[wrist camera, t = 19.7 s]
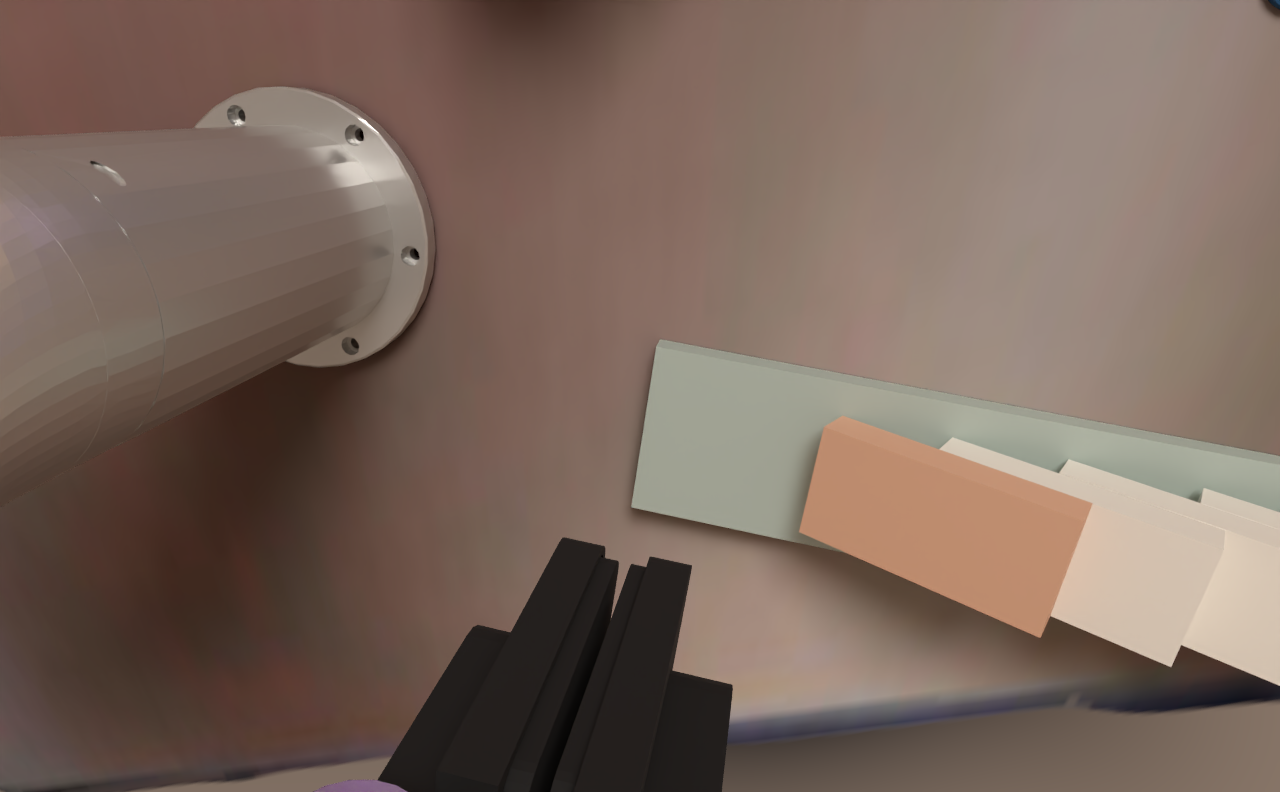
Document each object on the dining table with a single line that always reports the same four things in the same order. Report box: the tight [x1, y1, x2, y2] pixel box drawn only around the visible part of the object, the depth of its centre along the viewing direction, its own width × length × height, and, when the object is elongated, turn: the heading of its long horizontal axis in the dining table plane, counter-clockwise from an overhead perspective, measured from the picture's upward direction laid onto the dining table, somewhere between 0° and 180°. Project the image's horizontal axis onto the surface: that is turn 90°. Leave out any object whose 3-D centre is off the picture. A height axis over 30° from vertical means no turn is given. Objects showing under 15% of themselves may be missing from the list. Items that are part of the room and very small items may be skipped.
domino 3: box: [1059, 459, 1280, 686], centre depth 32 cm, size 2×5×10 cm
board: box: [631, 339, 1280, 554], centre depth 37 cm, size 27×8×1 cm, turn 82°
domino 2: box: [939, 437, 1225, 667], centre depth 33 cm, size 2×5×10 cm
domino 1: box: [799, 416, 1093, 638], centre depth 33 cm, size 2×5×10 cm
